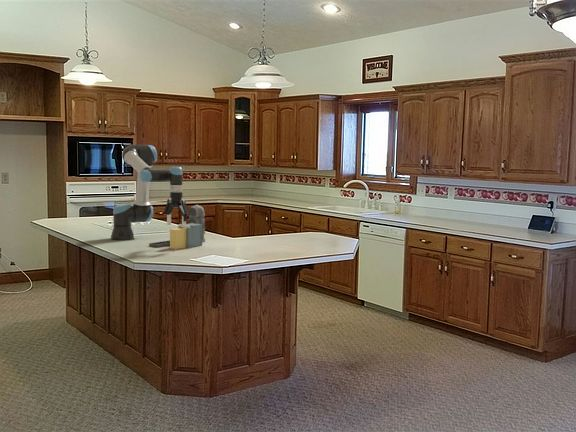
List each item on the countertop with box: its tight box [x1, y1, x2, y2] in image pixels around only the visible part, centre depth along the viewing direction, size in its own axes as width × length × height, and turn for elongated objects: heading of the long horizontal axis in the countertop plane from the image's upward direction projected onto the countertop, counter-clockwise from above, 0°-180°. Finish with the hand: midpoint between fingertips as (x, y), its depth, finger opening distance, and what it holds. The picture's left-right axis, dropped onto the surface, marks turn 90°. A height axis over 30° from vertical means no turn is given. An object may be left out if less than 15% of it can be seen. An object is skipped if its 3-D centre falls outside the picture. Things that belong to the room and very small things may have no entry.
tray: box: [148, 239, 170, 249], centre depth 389 cm, size 9×18×2 cm, turn 143°
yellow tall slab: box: [169, 227, 187, 250], centre depth 382 cm, size 5×14×12 cm, turn 143°
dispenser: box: [177, 223, 203, 249], centre depth 389 cm, size 9×12×14 cm
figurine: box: [187, 204, 206, 243], centre depth 408 cm, size 10×14×25 cm
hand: (176, 225), depth 378 cm, fingers open, 13 cm apart
